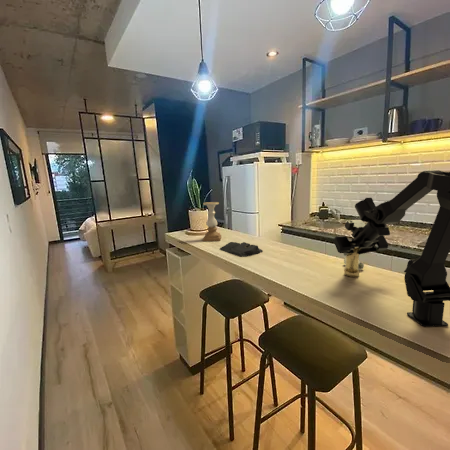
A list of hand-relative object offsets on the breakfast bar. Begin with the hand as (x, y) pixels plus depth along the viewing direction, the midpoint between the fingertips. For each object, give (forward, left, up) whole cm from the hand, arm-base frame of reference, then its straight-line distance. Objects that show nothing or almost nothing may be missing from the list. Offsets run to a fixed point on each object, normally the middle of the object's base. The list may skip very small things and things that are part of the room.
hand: (350, 254), depth 104 cm
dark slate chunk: (+38, +41, -9) cm, 57 cm away
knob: (-1, 0, -8) cm, 8 cm away
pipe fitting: (+7, -3, -8) cm, 12 cm away
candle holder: (+68, +58, -8) cm, 89 cm away
